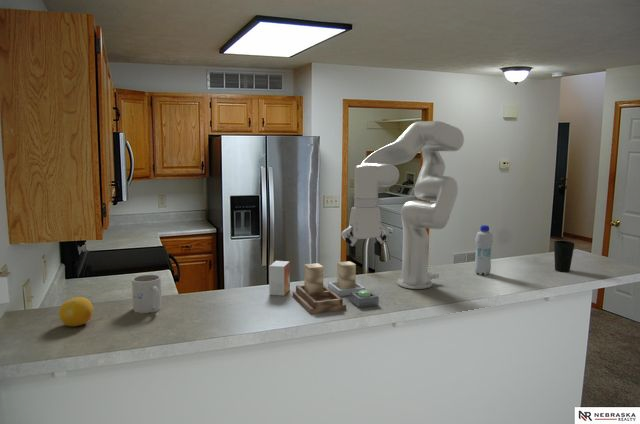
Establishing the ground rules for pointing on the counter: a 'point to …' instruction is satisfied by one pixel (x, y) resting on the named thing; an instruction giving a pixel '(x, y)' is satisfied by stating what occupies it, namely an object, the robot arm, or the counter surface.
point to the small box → (279, 278)
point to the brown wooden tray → (319, 300)
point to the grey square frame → (345, 291)
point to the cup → (563, 255)
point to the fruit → (76, 311)
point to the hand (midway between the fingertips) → (365, 255)
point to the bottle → (483, 251)
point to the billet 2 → (346, 275)
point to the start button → (364, 293)
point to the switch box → (364, 300)
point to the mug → (146, 293)
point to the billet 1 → (313, 277)
